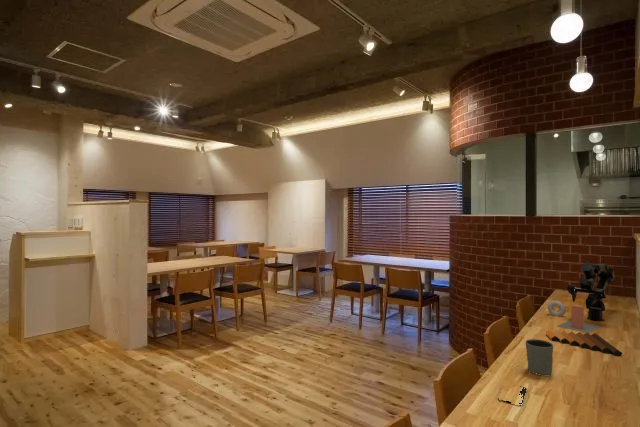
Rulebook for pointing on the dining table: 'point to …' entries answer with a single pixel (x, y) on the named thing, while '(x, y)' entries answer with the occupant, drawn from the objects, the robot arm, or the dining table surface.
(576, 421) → the dining table surface
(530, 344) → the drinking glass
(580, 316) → the tall box
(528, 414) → the dining table surface
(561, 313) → the donut
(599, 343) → the pan flute
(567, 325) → the mat
